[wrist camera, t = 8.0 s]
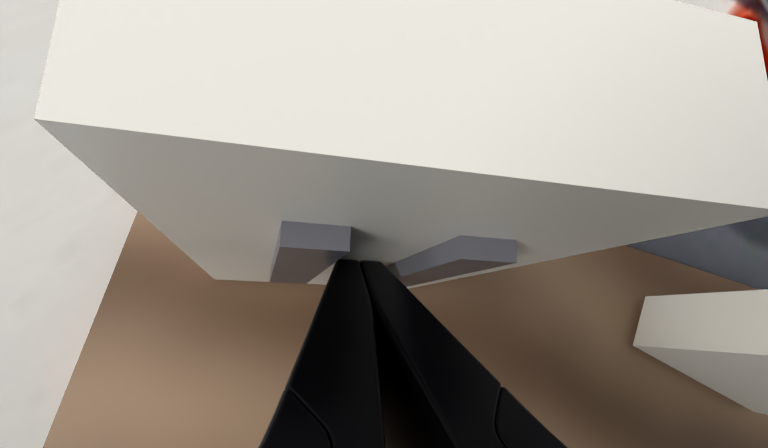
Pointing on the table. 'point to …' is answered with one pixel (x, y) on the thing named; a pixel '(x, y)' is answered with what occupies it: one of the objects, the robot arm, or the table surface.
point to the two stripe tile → (411, 127)
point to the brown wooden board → (444, 300)
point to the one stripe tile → (712, 341)
